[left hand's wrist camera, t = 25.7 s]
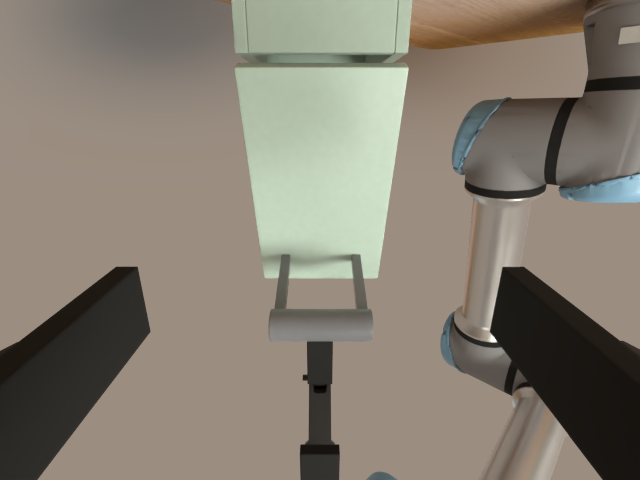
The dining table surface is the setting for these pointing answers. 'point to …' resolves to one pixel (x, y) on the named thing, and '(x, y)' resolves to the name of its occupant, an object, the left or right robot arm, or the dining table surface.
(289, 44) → the chest
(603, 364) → the left robot arm
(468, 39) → the dining table surface
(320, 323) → the lid
